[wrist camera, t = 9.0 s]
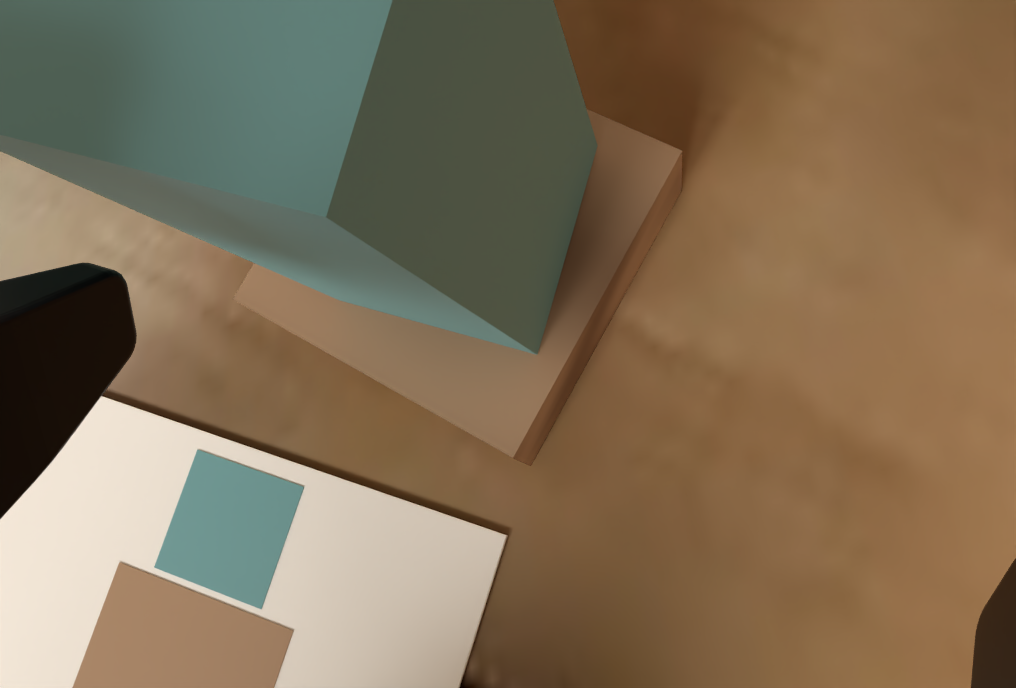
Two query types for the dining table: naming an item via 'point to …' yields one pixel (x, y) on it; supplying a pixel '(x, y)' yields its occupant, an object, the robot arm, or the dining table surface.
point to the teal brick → (323, 139)
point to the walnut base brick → (489, 366)
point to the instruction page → (228, 570)
